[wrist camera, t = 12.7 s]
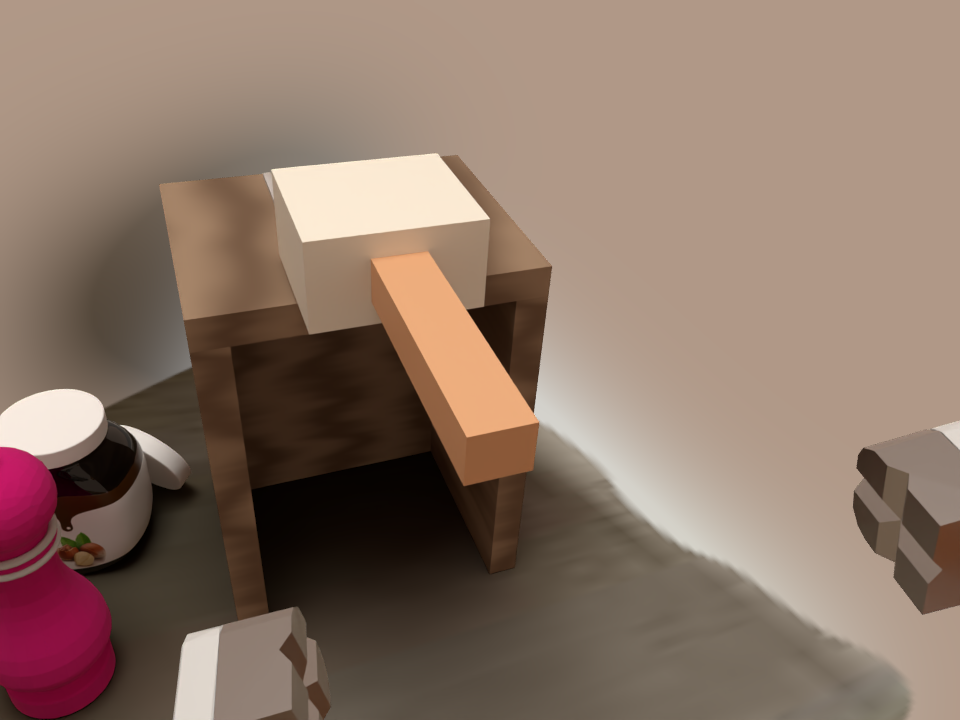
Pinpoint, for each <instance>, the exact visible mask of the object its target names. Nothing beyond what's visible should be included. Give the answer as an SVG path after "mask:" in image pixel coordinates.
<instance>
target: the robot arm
mask: <svg viewBox="0 0 960 720" xmlns="http://www.w3.org/2000/svg"><path fill="white" fill-rule="evenodd" d="M857 469H858V471H859V472H860V473H861V474H862V475H863V477H864V479H863V480H862V481H861V482H860V484H859V485H858V486H857V487H856V489H855V490H854V501H853V509H854V513H855V516H856V520H857V524H858V526H859V528H860V530H861V532H862V534H863V536H864V538H865V540H866V541H867V543H868V544H869V545H870V547H871V548H872V549H873V551H874V552H875V553H876V554H878V555H881V556H883V557H885V558H887V559H889V560H891V561H893V562H895V567H894V578H895V580H896V581H897V583H898V584H899V585H900V586H901V588H902V589H903V590H904V592H905V593H906V594H907V596H908V597H909V598H910V599H911V600H912V602H913V603H914V605H915V606H916V607H917V609H918V610H919V611H920V612H921V614H922V615H923V614H927V613H931V612H935V611H939V610H943V609H947V608H950V607H955V606H958V605H960V421H957V422H953V423H950V424H946V425H942V426H939V427H935V428H932V429H930V430H923V431H919V432H916V433H912V434H909V435H906V436H902V437H899V438H895V439H892V440H889V441H885V442H882V443H879V444H875V445H871V446H868V447H864V448H863V449H862V450H861V452H860V453H859V455H858V460H857ZM330 708H331V698H330V686H329V681H328V675H327V670H326V665H325V662H324V659H323V656H322V653H321V651H320V649H319V646H318V644H317V642H316V641H315V640H312V639H310V638H308V637H307V636H306V620H305V619H304V617H303V615H302V613H301V612H300V610H299V608H298V607H292V608H288V609H284V610H280V611H276V612H272V613H268V614H264V615H260V616H256V617H252V618H248V619H244V620H240V621H236V622H232V623H228V624H224V625H221V626H218V627H214V628H210V629H206V630H202V631H198V632H195V633H191V634H187V636H186V639H185V641H184V643H183V645H182V649H181V658H180V666H179V674H178V683H177V691H176V699H175V708H174V716H173V720H324V719H325V717H326V715H327V713H328V712H329V710H330Z"/></svg>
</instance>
